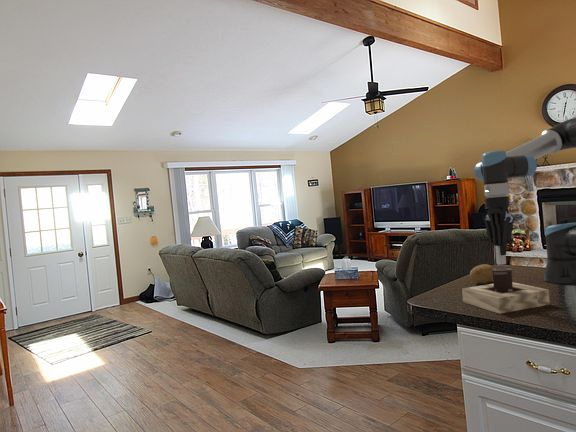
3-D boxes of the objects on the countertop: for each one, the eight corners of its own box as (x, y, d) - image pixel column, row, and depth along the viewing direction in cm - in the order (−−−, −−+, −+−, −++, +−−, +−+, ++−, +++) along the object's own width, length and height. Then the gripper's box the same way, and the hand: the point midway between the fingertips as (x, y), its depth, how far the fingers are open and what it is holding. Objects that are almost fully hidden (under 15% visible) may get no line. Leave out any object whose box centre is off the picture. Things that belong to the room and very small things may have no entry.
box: (494, 304, 148) (492, 270, 147) (494, 301, 152) (492, 268, 151) (514, 305, 145) (511, 270, 144) (514, 302, 149) (511, 267, 148)
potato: (499, 280, 184) (497, 262, 184) (492, 287, 173) (491, 267, 172) (475, 279, 190) (473, 261, 190) (467, 286, 178) (466, 267, 178)
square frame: (509, 294, 159) (508, 281, 159) (549, 304, 142) (548, 289, 142) (463, 302, 154) (461, 288, 154) (499, 313, 137) (498, 298, 137)
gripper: (474, 197, 152) (479, 263, 153) (501, 196, 140) (506, 267, 140) (492, 196, 154) (496, 260, 155) (520, 194, 142) (525, 265, 142)
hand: (501, 264), depth 148 cm, fingers closed
